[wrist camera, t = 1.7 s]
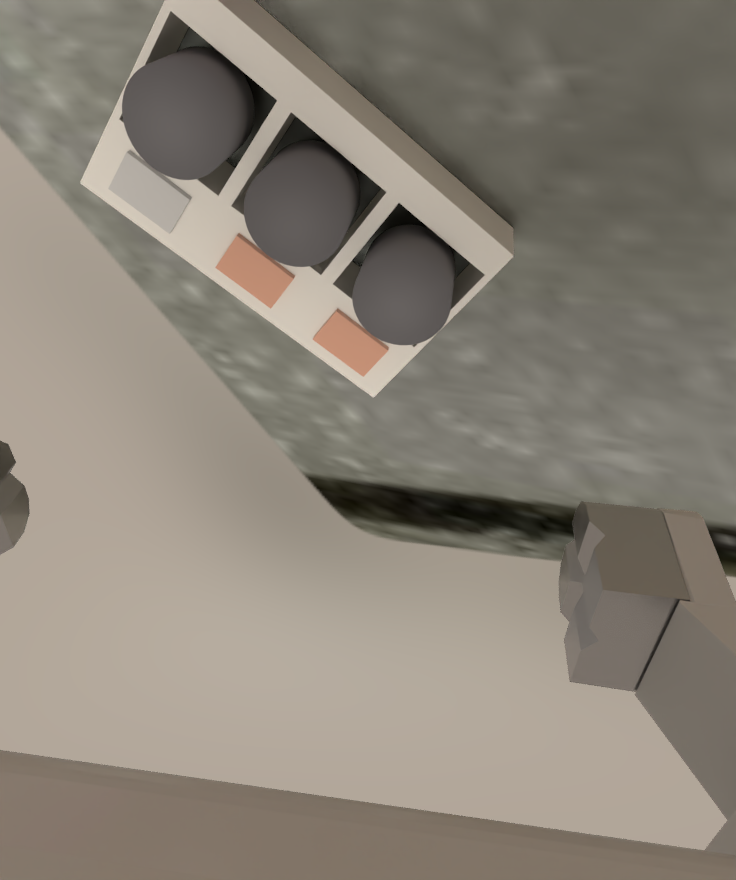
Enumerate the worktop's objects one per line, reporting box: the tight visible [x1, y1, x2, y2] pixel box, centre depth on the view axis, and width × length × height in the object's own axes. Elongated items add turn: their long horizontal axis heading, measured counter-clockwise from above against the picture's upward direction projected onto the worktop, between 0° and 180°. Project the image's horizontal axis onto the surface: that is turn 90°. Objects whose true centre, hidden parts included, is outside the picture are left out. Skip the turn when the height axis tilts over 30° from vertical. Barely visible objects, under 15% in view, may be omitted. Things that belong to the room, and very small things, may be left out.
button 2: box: [352, 225, 456, 345], centre depth 27 cm, size 4×4×3 cm
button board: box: [80, 0, 514, 398], centre depth 28 cm, size 15×9×3 cm, turn 53°
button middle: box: [244, 140, 360, 267], centre depth 26 cm, size 4×4×3 cm
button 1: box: [122, 47, 255, 180], centre depth 25 cm, size 4×4×3 cm
